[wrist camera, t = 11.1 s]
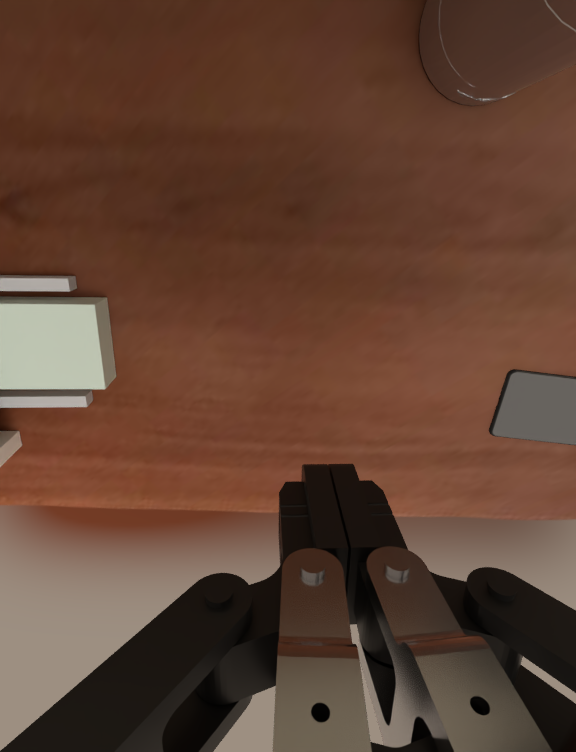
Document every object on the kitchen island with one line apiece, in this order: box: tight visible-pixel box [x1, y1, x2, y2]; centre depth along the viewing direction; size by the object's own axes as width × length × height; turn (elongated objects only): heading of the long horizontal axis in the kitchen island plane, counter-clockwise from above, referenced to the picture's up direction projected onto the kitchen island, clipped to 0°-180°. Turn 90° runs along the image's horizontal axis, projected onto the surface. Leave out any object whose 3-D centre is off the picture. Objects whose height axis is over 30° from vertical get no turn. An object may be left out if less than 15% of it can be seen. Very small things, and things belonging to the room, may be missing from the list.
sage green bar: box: [0, 296, 116, 389], centre depth 37 cm, size 7×16×3 cm, turn 89°
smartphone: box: [489, 370, 576, 445], centre depth 44 cm, size 7×1×15 cm
